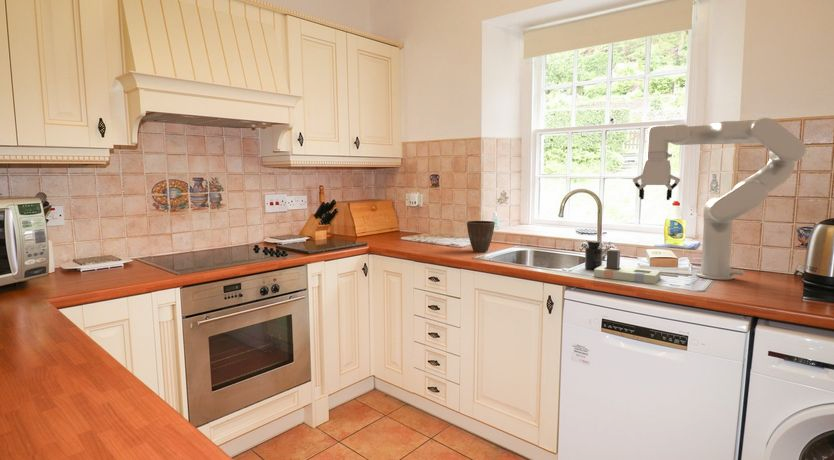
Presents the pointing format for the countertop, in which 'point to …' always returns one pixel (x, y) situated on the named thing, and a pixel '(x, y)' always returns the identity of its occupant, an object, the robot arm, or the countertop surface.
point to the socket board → (628, 274)
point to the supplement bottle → (593, 255)
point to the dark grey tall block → (613, 259)
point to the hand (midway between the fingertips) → (654, 199)
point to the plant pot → (480, 234)
